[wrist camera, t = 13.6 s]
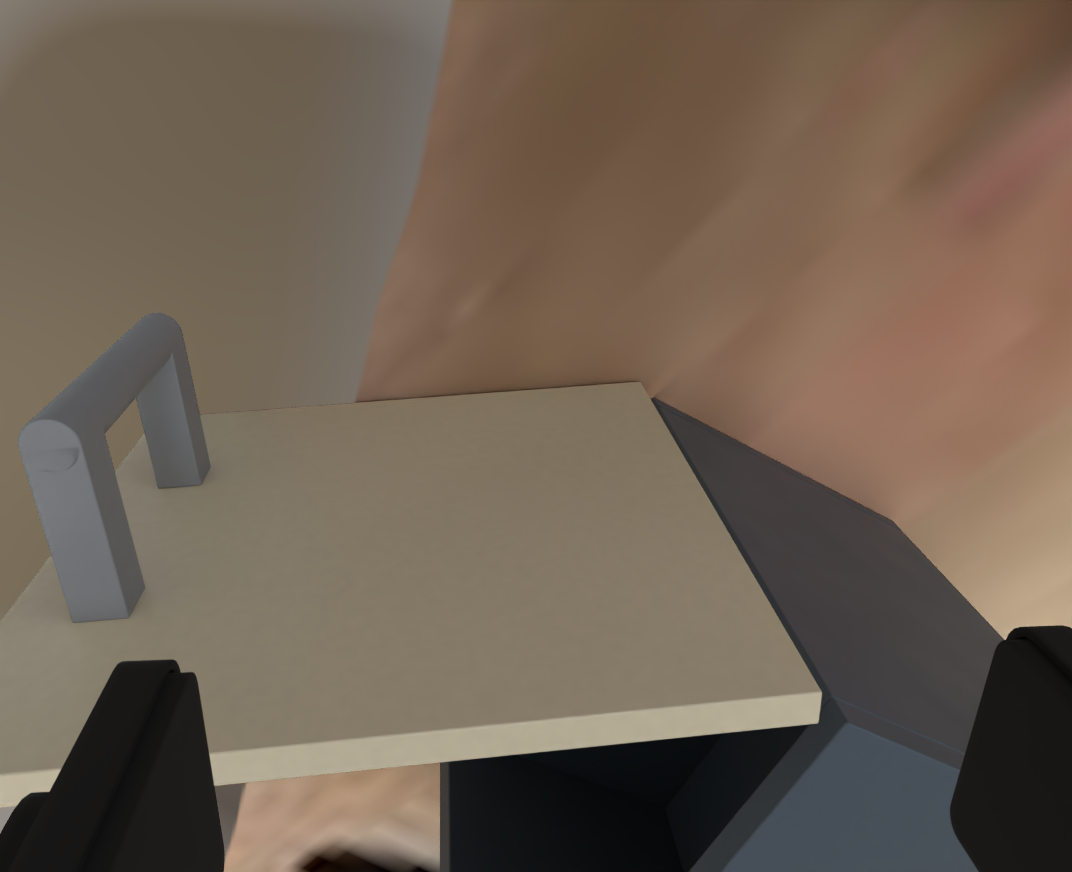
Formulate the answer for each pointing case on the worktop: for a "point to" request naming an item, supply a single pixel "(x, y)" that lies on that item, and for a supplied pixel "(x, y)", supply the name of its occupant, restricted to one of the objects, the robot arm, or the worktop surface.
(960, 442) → the worktop surface
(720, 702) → the cupboard door
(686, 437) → the cupboard
